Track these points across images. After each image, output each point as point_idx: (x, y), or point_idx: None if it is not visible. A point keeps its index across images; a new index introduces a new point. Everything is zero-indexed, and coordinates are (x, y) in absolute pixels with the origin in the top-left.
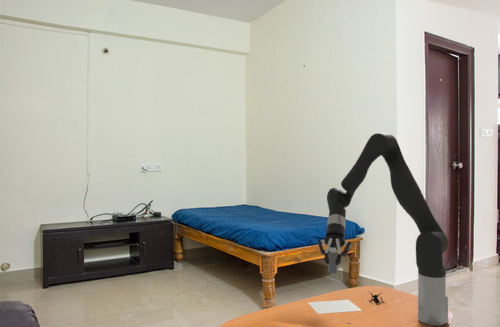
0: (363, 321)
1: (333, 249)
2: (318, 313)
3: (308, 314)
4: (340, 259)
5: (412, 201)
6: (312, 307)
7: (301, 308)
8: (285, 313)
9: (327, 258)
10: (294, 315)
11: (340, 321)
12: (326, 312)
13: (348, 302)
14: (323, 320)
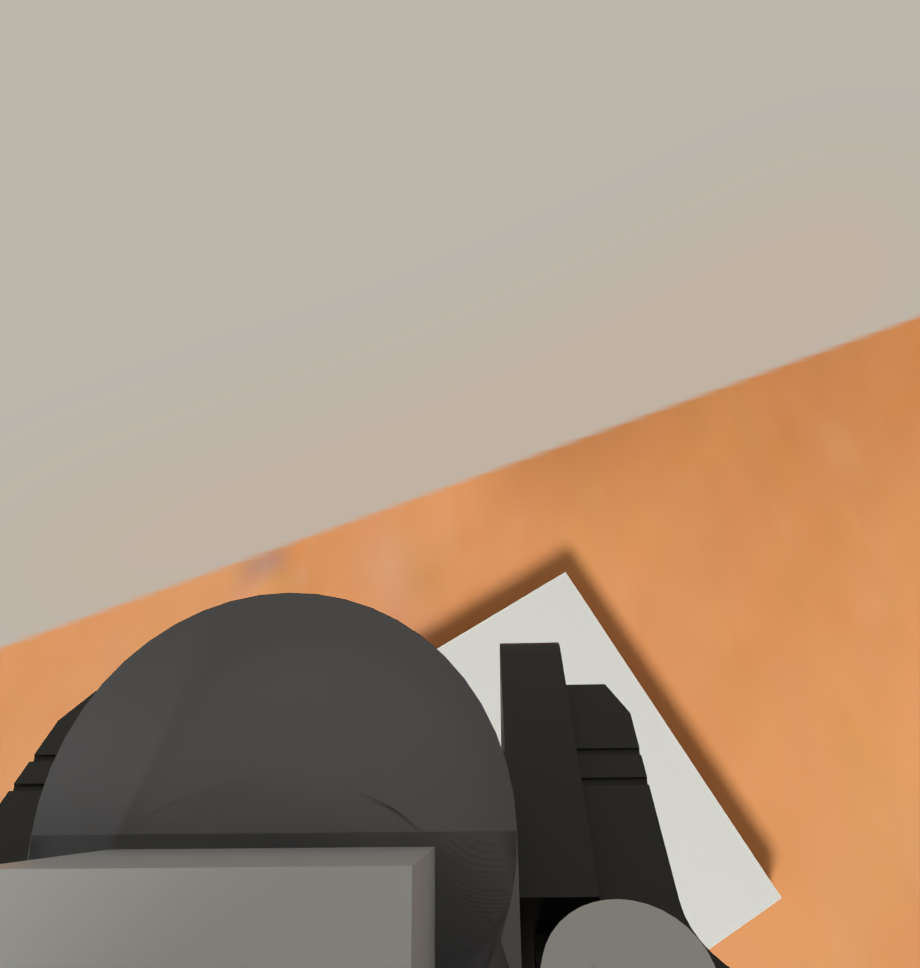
0: (117, 629)
1: (160, 866)
2: (562, 578)
3: (670, 610)
4: (31, 763)
5: None
6: (668, 735)
7: (798, 759)
8: (899, 551)
9: (513, 711)
10: (794, 534)
11: (336, 550)
12: (486, 639)
13: None
14: (495, 516)
